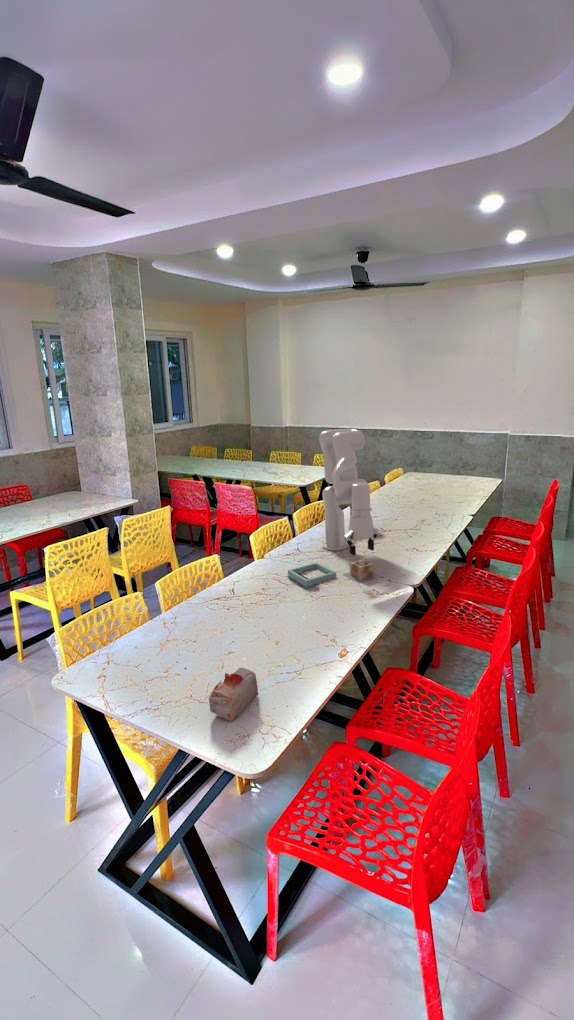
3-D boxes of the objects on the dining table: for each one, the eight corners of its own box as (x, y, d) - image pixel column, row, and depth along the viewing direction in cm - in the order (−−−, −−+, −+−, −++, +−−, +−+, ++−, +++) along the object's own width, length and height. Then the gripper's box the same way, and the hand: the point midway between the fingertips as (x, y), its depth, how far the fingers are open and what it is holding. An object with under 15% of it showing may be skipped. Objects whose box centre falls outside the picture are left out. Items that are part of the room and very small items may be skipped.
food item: (232, 726, 130) (229, 693, 127) (208, 717, 134) (204, 685, 131) (261, 696, 141) (259, 665, 139) (237, 689, 145) (235, 658, 143)
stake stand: (363, 571, 225) (363, 553, 223) (381, 579, 215) (381, 561, 213) (342, 577, 219) (341, 559, 217) (359, 586, 209) (359, 568, 207)
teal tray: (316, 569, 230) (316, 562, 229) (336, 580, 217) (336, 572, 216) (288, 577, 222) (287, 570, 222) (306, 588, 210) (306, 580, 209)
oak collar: (363, 571, 221) (362, 559, 220) (373, 576, 215) (373, 563, 214) (350, 574, 218) (350, 562, 216) (360, 580, 212) (360, 567, 211)
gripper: (371, 507, 217) (372, 545, 221) (338, 514, 208) (339, 554, 212) (383, 510, 210) (383, 550, 214) (349, 518, 202) (350, 558, 206)
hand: (361, 552), depth 213 cm, fingers open, 9 cm apart
